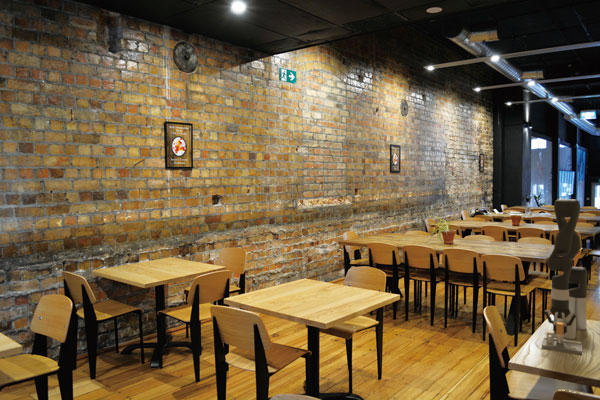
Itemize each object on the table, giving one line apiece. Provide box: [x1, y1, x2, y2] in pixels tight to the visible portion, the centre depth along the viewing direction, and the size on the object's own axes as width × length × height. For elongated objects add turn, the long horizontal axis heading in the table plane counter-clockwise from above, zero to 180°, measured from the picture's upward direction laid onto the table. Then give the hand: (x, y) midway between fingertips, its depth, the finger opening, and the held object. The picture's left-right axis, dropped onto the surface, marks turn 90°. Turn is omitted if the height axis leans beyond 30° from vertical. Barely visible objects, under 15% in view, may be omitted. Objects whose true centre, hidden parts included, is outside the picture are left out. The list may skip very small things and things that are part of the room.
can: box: [559, 314, 577, 340], centre depth 227 cm, size 8×8×12 cm
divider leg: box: [555, 322, 565, 345], centre depth 214 cm, size 3×8×9 cm, turn 146°
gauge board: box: [541, 329, 583, 356], centre depth 213 cm, size 16×12×6 cm
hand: (559, 332), depth 215 cm, fingers closed on divider leg, 3 cm apart
